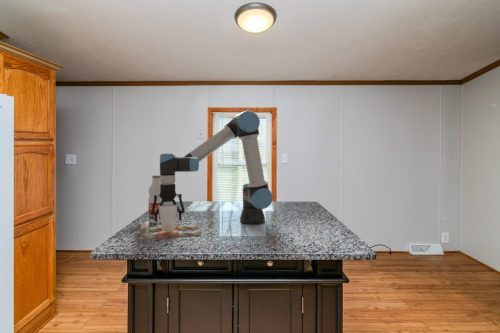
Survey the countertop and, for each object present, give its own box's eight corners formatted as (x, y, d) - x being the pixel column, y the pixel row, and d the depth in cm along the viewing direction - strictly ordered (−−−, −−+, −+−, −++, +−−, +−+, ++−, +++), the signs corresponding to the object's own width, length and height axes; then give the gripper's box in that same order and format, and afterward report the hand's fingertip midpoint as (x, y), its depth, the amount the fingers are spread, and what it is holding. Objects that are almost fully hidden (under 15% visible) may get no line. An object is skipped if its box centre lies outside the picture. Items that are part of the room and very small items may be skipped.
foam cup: (155, 231, 150) (154, 205, 149) (166, 227, 158) (166, 203, 158) (170, 233, 146) (170, 207, 146) (181, 228, 155) (181, 204, 154)
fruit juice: (167, 221, 178) (167, 175, 177) (153, 224, 172) (152, 176, 171) (160, 219, 185) (160, 174, 184) (146, 221, 179) (145, 175, 178)
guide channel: (198, 227, 164) (198, 218, 163) (201, 235, 149) (201, 225, 149) (143, 231, 156) (142, 222, 156) (140, 239, 142) (139, 229, 141)
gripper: (189, 182, 158) (189, 224, 159) (145, 183, 152) (146, 226, 153) (190, 183, 150) (190, 227, 151) (144, 184, 145) (145, 230, 146)
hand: (168, 227), depth 152 cm, fingers closed on foam cup, 9 cm apart
